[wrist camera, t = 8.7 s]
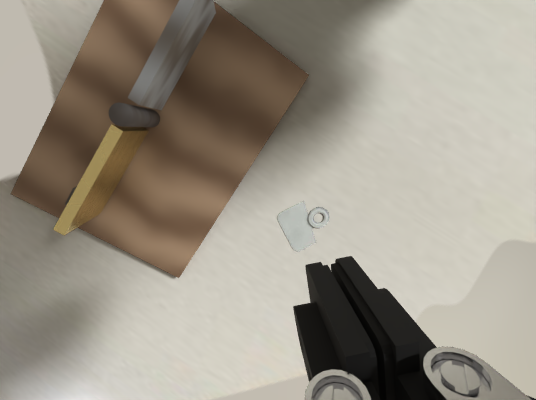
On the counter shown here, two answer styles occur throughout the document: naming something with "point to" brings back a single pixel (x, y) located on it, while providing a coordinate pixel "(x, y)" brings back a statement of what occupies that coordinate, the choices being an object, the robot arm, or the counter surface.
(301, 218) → the mounting bracket
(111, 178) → the bar
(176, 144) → the hinge base
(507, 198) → the counter surface
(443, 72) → the counter surface
